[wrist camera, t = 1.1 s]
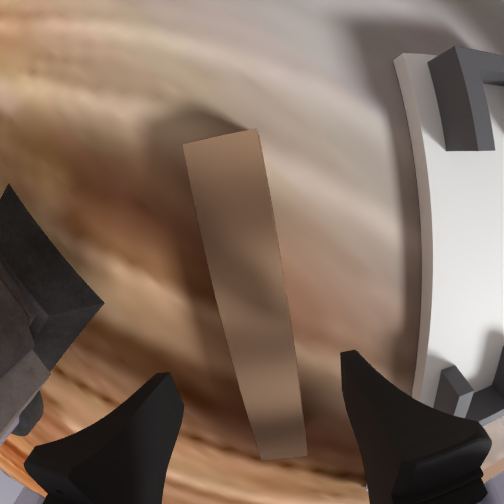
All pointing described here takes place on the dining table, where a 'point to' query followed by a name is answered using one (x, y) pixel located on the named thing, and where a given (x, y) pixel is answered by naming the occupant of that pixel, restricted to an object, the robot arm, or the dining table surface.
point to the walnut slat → (249, 285)
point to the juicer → (33, 314)
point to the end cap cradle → (459, 227)
